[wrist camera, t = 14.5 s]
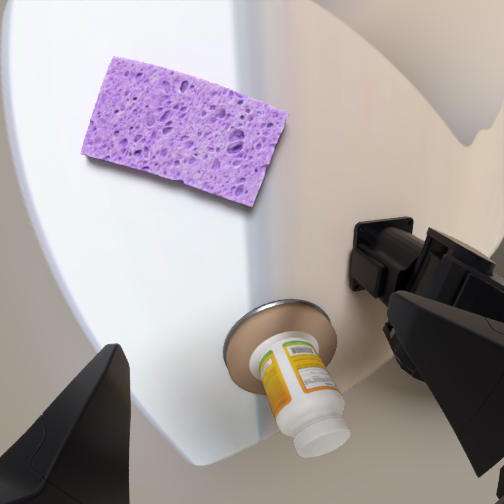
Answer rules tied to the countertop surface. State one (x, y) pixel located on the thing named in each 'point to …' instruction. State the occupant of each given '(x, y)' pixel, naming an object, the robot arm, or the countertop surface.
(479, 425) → the robot arm
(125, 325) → the countertop surface
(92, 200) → the countertop surface
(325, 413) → the supplement bottle
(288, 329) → the turntable platter
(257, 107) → the purple sponge
